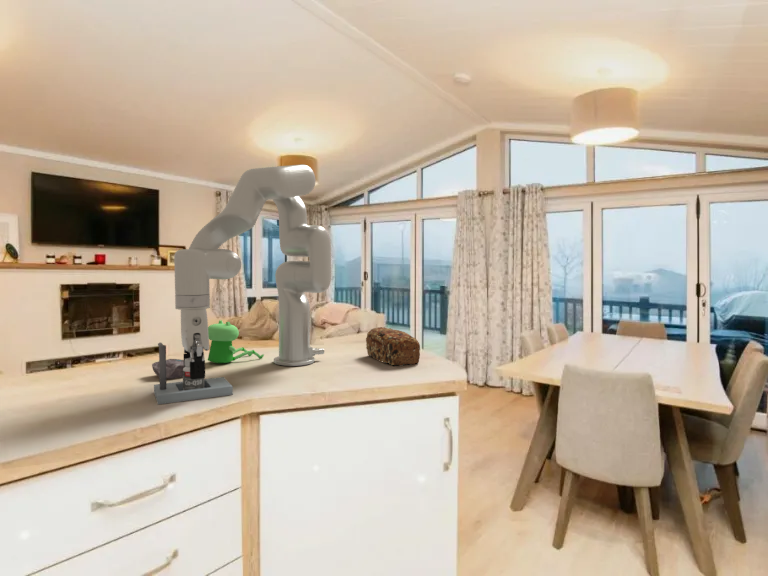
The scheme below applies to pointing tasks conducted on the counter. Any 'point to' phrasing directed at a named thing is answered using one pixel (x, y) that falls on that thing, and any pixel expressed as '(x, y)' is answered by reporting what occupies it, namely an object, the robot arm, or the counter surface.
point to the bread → (392, 346)
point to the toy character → (225, 343)
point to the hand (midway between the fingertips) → (194, 373)
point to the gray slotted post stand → (176, 394)
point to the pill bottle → (190, 383)
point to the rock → (171, 368)
